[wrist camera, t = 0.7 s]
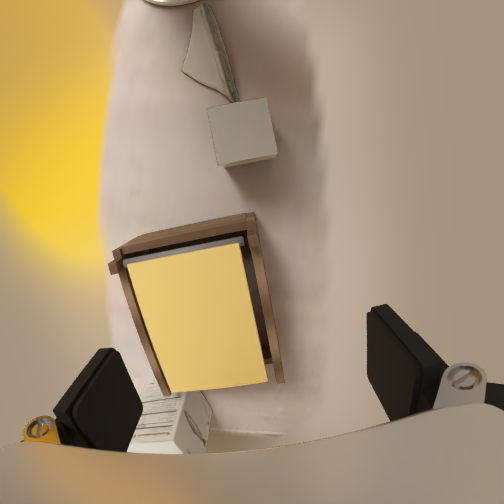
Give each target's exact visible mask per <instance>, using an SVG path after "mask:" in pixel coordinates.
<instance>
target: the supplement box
mask: <svg viewBox="0 0 504 504" xmlns="http://www.w3.org/2000/svg"><path fill="white" fill-rule="evenodd" d="M140 399H141V401H142V404H143V412H142V415H141V417H140V420H139V422H138V425H137V427H136V430H135V432H134V435H133V437H132V440H131V442H130V445H129V447H128V450H127V452H133V453H154V454H198V453H206V448H207V442H208V435H209V429H210V423H211V416H212V409H211V408H210V406H209V405H208V403H207V401H206V400H205V398H204V396H203V395H202V393H201V391H200V390H198V391H187V392H173V393H171V396H167V397H164V396H163V394H162V391H161V389H160V387H159V385H158V382H157V380H155V381H150V382H147V383H146V384H145V387H144V389H143V391H142V393H141V395H140Z"/></svg>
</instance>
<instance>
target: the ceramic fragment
mask: <svg viewBox="0 0 504 504" xmlns="http://www.w3.org/2000/svg"><path fill="white" fill-rule="evenodd" d="M181 71H182V72H184V73H185V74H187V75H188V76H190V77H192V78H193V79H195V80H196V81H198V82H200V83H202V84H204V85H206V86H208V87H211V88H213V89H216V90H218V91H219V92H220V93H222V94H224V95H225V96H226V97H227V98H228V99H229V100H231V101H232V102H233V103H235V102H239V98H238V94H237V90H236V87H235V83H234V80H233V77H232V72H231V68H230V64H229V60H228V57H227V53H226V50H225V46H224V43H223V40H222V37H221V34H220V31H219V28H218V25H217V22H216V20H215V17H214V14H213V12H212V10H211V7H210V6H209V5H207V4H206V3H202V4H200V5H199V6H198V7H197V8H195V9H194V13H193V26H192V33H191V37H190V43H189V48H188V52H187V55H186V59H185V61H184V63H183V67H182V69H181Z"/></svg>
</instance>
